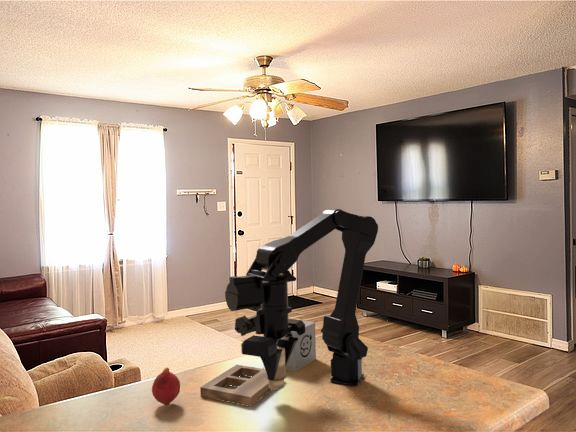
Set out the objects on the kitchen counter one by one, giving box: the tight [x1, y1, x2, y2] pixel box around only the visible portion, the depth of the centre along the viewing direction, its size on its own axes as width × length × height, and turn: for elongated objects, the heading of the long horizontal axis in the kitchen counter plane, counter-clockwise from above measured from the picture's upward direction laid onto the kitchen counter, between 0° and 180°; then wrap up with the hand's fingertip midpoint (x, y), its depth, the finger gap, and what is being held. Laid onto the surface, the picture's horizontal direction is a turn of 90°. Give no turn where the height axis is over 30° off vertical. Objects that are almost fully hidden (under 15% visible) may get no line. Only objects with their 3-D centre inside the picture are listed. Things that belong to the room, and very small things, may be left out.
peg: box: [267, 346, 287, 390], centre depth 98 cm, size 4×4×8 cm
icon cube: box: [262, 317, 317, 372], centre depth 123 cm, size 10×10×10 cm
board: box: [200, 364, 272, 407], centre depth 106 cm, size 13×15×2 cm
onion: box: [151, 366, 181, 406], centre depth 98 cm, size 6×6×8 cm
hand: (276, 375), depth 99 cm, fingers closed on peg, 4 cm apart
